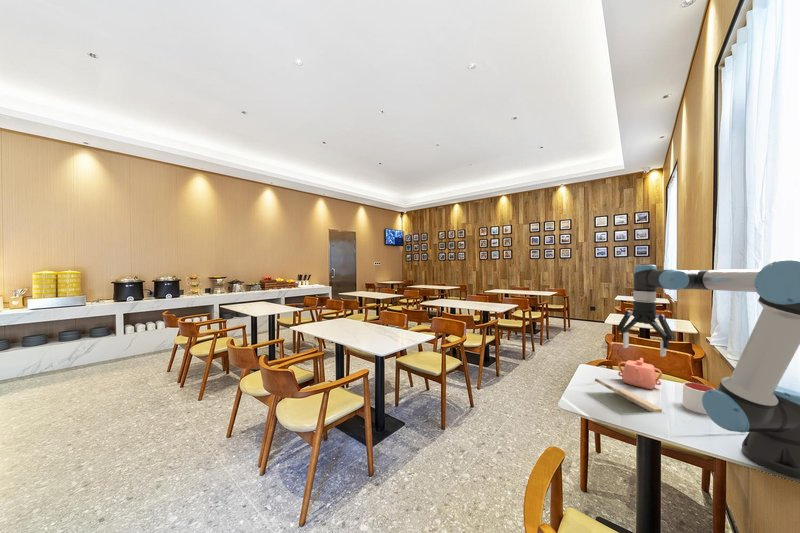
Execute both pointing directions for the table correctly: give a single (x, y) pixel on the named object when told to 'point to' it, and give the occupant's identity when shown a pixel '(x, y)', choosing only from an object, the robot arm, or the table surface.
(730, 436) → the table surface
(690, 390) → the cup
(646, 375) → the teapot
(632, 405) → the pad
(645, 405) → the board
